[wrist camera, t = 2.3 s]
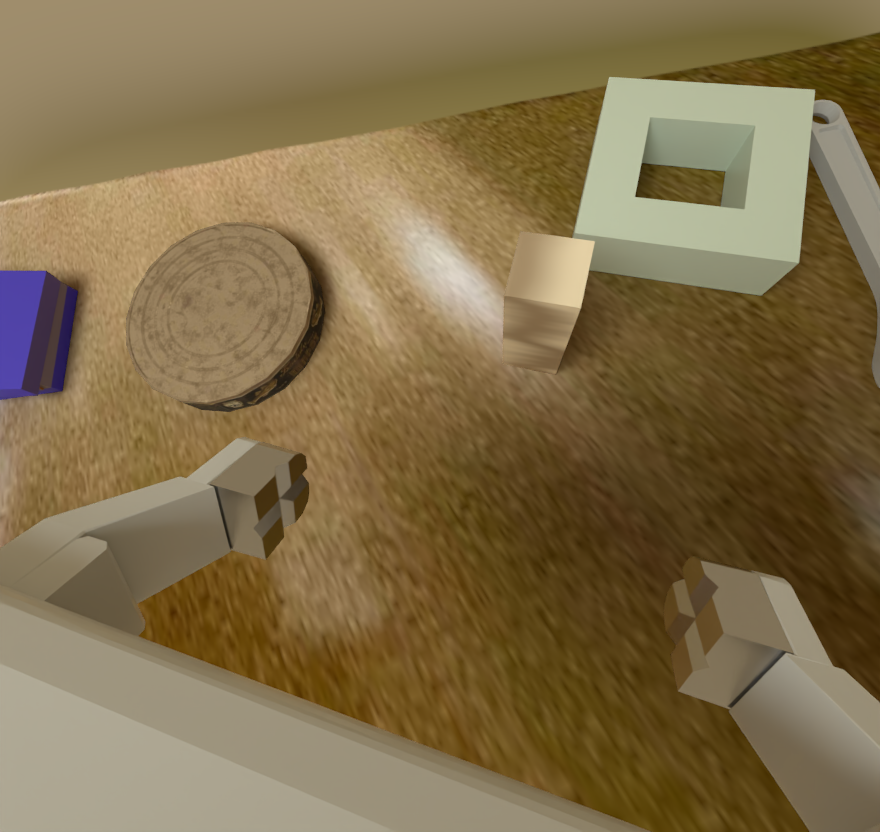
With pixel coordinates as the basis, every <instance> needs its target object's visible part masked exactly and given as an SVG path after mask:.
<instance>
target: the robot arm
mask: <svg viewBox="0 0 880 832" xmlns="http://www.w3.org/2000/svg"><path fill="white" fill-rule="evenodd" d="M306 469H307V463H306V456H304V455H303V454H302V453H299V452H296V451H292V450H289V449H285V448H282V447H279V446H275V445H272V444H268V443H265V442H259V441H256V440H253V439H249V438H246V437H242V438H237V439H236V440H234V441H233V442H232V443H231V444H229V445H228V446H227V447H225V448H224V449H223V450H222V451H220V452H219V453H218V454H217V455H215V456H214V457H213V458H212V459H210V460H209V461H208V462H206V463H205V464H204V465H203V466H201V467H200V468H199V469H198V470H196V471H195V472H194V473H193V474H191V475H190V476H189V477H187V478H183V477H178V478H174V479H171V480H168V481H165V482H161V483H158V484H155V485H152V486H149V487H145V488H142V489H139V490H136V491H132V492H129V493H126V494H123V495H120V496H116V497H113V498H110V499H107V500H103V501H100V502H97V503H94V504H91V505H87V506H84V507H81V508H78V509H74V510H71V511H68V512H65V513H62V514H58V515H55V516H52V517H49V518H45V519H44V520H42V521H41V522H39V523H38V524H36V525H35V526H33V527H31V528H30V529H28V530H27V531H25V532H24V533H22V534H21V535H19V536H18V537H16V538H15V539H13V540H12V541H10V542H9V543H7V544H6V545H4V546H3V547H1V548H0V832H651V831H648V830H646V829H643V828H640V827H638V826H635V825H633V824H630V823H627V822H625V821H622V820H619V819H617V818H614V817H612V816H609V815H606V814H604V813H601V812H598V811H596V810H593V809H591V808H588V807H585V806H583V805H580V804H577V803H575V802H572V801H570V800H567V799H564V798H562V797H559V796H556V795H554V794H551V793H548V792H546V791H543V790H541V789H538V788H535V787H533V786H530V785H527V784H525V783H522V782H520V781H517V780H514V779H512V778H509V777H506V776H504V775H501V774H499V773H496V772H493V771H491V770H488V769H485V768H483V767H480V766H478V765H475V764H472V763H470V762H467V761H464V760H462V759H459V758H457V757H454V756H451V755H449V754H446V753H443V752H441V751H438V750H436V749H433V748H430V747H428V746H425V745H422V744H420V743H417V742H415V741H412V740H409V739H407V738H404V737H401V736H399V735H396V734H394V733H391V732H388V731H386V730H383V729H380V728H378V727H375V726H372V725H370V724H367V723H365V722H362V721H359V720H357V719H354V718H351V717H349V716H346V715H344V714H341V713H338V712H336V711H333V710H330V709H328V708H325V707H323V706H320V705H317V704H315V703H312V702H309V701H307V700H304V699H302V698H299V697H296V696H294V695H291V694H288V693H286V692H283V691H280V690H278V689H275V688H273V687H270V686H267V685H265V684H262V683H259V682H257V681H254V680H252V679H249V678H246V677H244V676H241V675H238V674H236V673H233V672H230V671H228V670H225V669H223V668H220V667H217V666H215V665H212V664H209V663H207V662H204V661H202V660H199V659H196V658H194V657H191V656H188V655H186V654H183V653H180V652H178V651H175V650H173V649H170V648H167V647H165V646H162V645H159V644H157V643H154V642H152V641H149V640H146V639H144V638H141V637H138V635H139V634H140V633H141V632H142V631H143V630H144V629H145V620H144V618H143V616H142V614H141V612H140V610H139V608H138V606H137V604H138V603H139V602H141V601H143V600H145V599H147V598H148V597H150V596H152V595H154V594H156V593H157V592H159V591H161V590H163V589H165V588H166V587H168V586H170V585H172V584H174V583H175V582H177V581H179V580H181V579H183V578H184V577H186V576H188V575H190V574H192V573H193V572H195V571H197V570H199V569H201V568H202V567H204V566H206V565H208V564H210V563H211V562H213V561H215V560H217V559H219V558H220V557H222V556H224V555H226V554H228V553H229V552H230V550H234V551H237V552H241V553H244V554H248V555H251V556H255V557H258V558H262V559H265V560H266V559H267V558H268V557H269V555H270V554H271V553H272V551H273V550H274V549H275V548H276V546H277V545H278V544H279V543H280V541H281V540H282V539H283V538H284V527H286V526H289V525H291V524H293V523H295V522H296V521H297V520H298V519H299V517H300V516H301V515H302V513H303V511H304V509H305V507H306V504H307V502H308V497H309V483H308V482H307V480H306V479H305V477H304V476H303V475H302V473H303V472H304V471H305V470H306ZM682 572H683V575H684V579H683V580H680V581H678V582H675V583H673V584H672V586H671V587H670V589H669V591H668V593H667V595H666V599H665V604H664V623H665V629H666V633H667V634H668V635H669V637H670V638H671V639H672V640H673V642H674V643H675V644H676V645H677V646H676V647H675V649H674V650H673V652H672V653H671V660H672V665H673V670H674V675H675V680H676V685H677V690H678V691H679V692H681V693H684V694H687V695H690V696H693V697H696V698H699V699H702V700H705V701H707V702H710V703H713V704H716V705H719V706H722V707H725V708H728V709H730V710H729V713H730V714H731V716H732V717H733V719H734V720H735V722H736V723H737V725H738V726H739V727H740V729H741V730H742V732H743V733H744V735H745V736H746V738H747V739H748V741H749V742H750V744H751V745H752V747H753V748H754V750H755V751H756V753H757V754H758V756H759V757H760V759H761V760H762V761H763V763H764V764H765V766H766V767H767V769H768V770H769V772H770V773H771V775H772V776H773V778H774V779H775V781H776V782H777V784H778V785H779V787H780V788H781V790H782V791H783V793H784V794H785V795H786V797H787V798H788V800H789V801H790V803H791V804H792V806H793V807H794V809H795V810H796V812H797V813H798V815H799V816H800V818H801V819H802V821H803V822H804V824H805V825H806V827H807V828H808V829H809V831H810V832H880V702H878V701H877V700H876V699H875V698H874V697H873V696H872V695H871V694H870V693H869V692H868V691H867V690H865V689H864V688H863V687H862V686H861V685H860V684H859V683H858V682H857V681H856V680H855V679H853V678H852V677H851V676H850V675H849V674H848V673H847V672H846V671H845V670H843V669H840V668H837V667H833V665H832V663H831V661H830V659H829V657H828V655H827V654H826V652H825V650H824V648H823V646H822V644H821V642H820V640H819V638H818V636H817V634H816V632H815V631H814V629H813V627H812V625H811V623H810V621H809V619H808V617H807V615H806V613H805V611H804V609H803V608H802V606H801V604H800V602H799V600H798V598H797V596H796V594H795V592H794V590H793V588H792V586H791V585H790V584H789V583H788V582H787V581H786V580H785V579H784V578H780V577H776V576H772V575H768V574H764V573H760V572H756V571H749V570H747V569H743V568H739V567H735V566H731V565H727V564H723V563H719V562H715V561H711V560H708V559H704V558H700V557H696V556H692V557H691V558H689V559H688V560H687V561H686V563H685V564H684V566H683V567H682Z"/></svg>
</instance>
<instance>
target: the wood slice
mask: <svg viewBox="0 0 880 832" xmlns="http://www.w3.org/2000/svg"><path fill="white" fill-rule="evenodd" d="M324 315H325V309H324V303H323V296H322V289H321V286H320V284H319V282H318V280H317V279H316V277H315V275H314V273H313V272H312V270H311V268H310V266H309V265H308V263H307V262H306V261H305V259H304V258H303V257H302V255H301V254H300V253H299V251H298V250H297V248H296V247H295V246H294V245H293V244H291V243H290V242H289V241H288V240H287V239H285V238H284V237H283V236H282V235H280V234H279V233H278V232H277V231H275V230H272V229H269V228H266V227H263V226H260V225H257V224H254V223H221V224H218V225H214V226H211V227H207V228H204V229H200V230H197V231H195V232H193V233H192V234H190V235H188V236H187V237H185V238H183V239H182V240H180V241H178V242H176V243H175V244H173V245H171V246H170V247H169V248H168V249H167V250H166V251H165V252H164V253H163V254H162V255H161V256H160V257H159V258H158V259H157V260H156V261H155V262H154V263H153V264H152V265H151V266H150V267H149V269H148V270H147V272H146V274H145V275H144V277H143V278H142V280H141V282H140V283H139V285H138V286H137V288H136V290H135V291H134V295H133V298H132V301H131V304H130V308H129V311H128V314H127V318H126V345H127V348H128V351H129V354H130V356H131V359H132V362H133V365H134V367H135V370H136V371H137V372H138V373H139V374H140V375H141V376H142V378H143V379H144V380H145V381H146V382H147V383H148V384H149V385H150V386H151V387H152V389H154V390H156V391H158V392H160V393H163V394H165V395H167V396H169V397H171V398H173V399H175V400H178V401H180V402H183V403H185V404H188V405H191V406H193V407H196V408H199V409H201V410H212V411H225V412H230V411H234V410H238V409H242V408H246V407H250V406H254V405H258V404H260V403H261V402H263V401H265V400H267V399H268V398H270V397H272V396H273V395H275V394H277V393H278V392H280V391H282V390H283V389H285V388H286V387H287V386H288V385H289V384H290V383H291V382H292V380H293V379H294V378H295V377H296V376H297V375H298V374H299V373H300V372H301V371H302V370H303V369H304V368H305V367H306V365H307V363H308V362H309V360H310V358H311V356H312V354H313V352H314V350H315V348H316V346H317V344H318V342H319V341H320V336H321V331H322V326H323V320H324Z"/></svg>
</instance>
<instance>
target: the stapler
mask: <svg viewBox="0 0 880 832" xmlns="http://www.w3.org/2000/svg"><path fill="white" fill-rule="evenodd" d="M77 293H78V291H77V290H75V289H73V288H71V287H69V286H68V285H66V284H64V283H62V282H60V281H59V280H58V279H56V278H55V277H54V276H52V275H51V274H50V273H48V272H47V271H0V400H2V399H9V398H16V397H23V396H35V395H38V394H45V393H52V392H59V391H62V390H63V384H64V377H65V371H66V364H67V358H68V351H69V345H70V339H71V332H72V326H73V319H74V313H75V306H76V300H77Z"/></svg>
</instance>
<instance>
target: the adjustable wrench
mask: <svg viewBox="0 0 880 832" xmlns="http://www.w3.org/2000/svg"><path fill="white" fill-rule="evenodd" d="M813 116H819V117H822V118H823V119H825V120H826V122H827V124H818V123H816V122H814V121H812V128H811V139H810V150H809V156H810V159H811V161H812V163H813V165H814V167H815V169H816V171H817V174H818V176H819V178H820V180H821V182H822V184H823V187H824V189H825V191H826V193H827V195H828V197H829V199H830V202H831V204H832V206H833V208H834V210H835V212H836V214H837V217H838V219H839V221H840V223H841V225H842V227H843V230H844V232H845V234H846V236H847V238H848V240H849V242H850V245H851V247H852V249H853V251H854V253H855V255H856V257H857V260H858V262H859V264H860V266H861V268H862V270H863V272H864V275H865V277H866V279H867V281H868V283H869V285H870V288H871V290H872V292H873V294H874V297H875V300H876V303H877V311H878V324H877V338H876V345H875V350H874V355H873V361H872V371H873V376H874V379H875V382H876V383H877V385H878V387H879V388H880V189H879V187H878V185H877V182H876V180H875V178H874V176H873V174H872V172H871V170H870V168H869V165H868V163H867V161H866V159H865V157H864V155H863V153H862V151H861V149H860V146H859V144H858V142H857V140H856V138H855V136H854V134H853V132H852V129H851V127H850V125H849V123H848V121H847V119H846V117H845V115H844V113H843V110H842V109H841V107H840V106H839V105H838V104H836V103H835V102H832V101H829V100H817V101H814V107H813Z"/></svg>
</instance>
